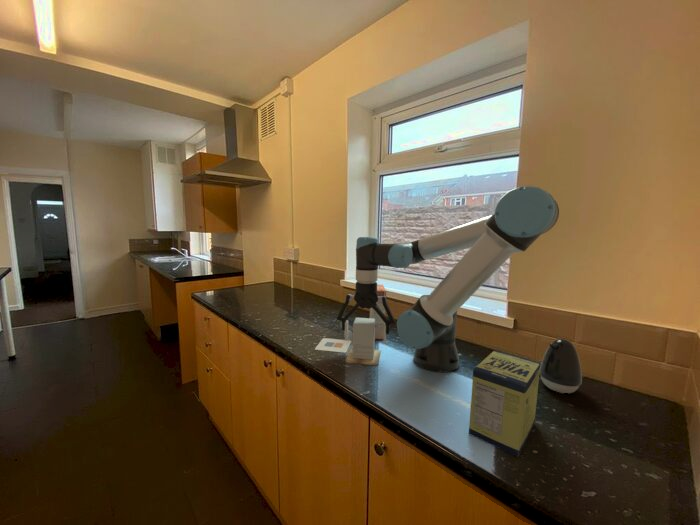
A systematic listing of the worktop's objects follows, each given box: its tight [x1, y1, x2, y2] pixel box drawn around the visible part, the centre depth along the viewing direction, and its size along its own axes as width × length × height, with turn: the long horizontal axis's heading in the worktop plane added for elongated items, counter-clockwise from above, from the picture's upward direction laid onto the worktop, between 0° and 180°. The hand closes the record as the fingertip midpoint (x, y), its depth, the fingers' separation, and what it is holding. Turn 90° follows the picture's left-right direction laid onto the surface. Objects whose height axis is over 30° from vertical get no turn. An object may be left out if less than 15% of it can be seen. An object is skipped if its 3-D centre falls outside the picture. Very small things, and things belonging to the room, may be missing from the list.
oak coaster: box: [345, 347, 382, 366], centre depth 107 cm, size 11×11×1 cm
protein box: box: [468, 349, 541, 458], centre depth 69 cm, size 10×16×16 cm
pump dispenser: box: [539, 338, 583, 394], centre depth 88 cm, size 10×10×15 cm
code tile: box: [314, 337, 353, 354], centre depth 117 cm, size 12×12×1 cm
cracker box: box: [369, 284, 387, 340], centre depth 130 cm, size 14×6×21 cm, turn 179°
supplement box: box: [352, 317, 376, 360], centre depth 106 cm, size 7×7×13 cm
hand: (365, 340), depth 106 cm, fingers open, 13 cm apart
